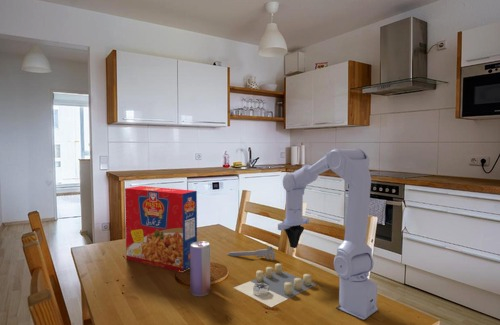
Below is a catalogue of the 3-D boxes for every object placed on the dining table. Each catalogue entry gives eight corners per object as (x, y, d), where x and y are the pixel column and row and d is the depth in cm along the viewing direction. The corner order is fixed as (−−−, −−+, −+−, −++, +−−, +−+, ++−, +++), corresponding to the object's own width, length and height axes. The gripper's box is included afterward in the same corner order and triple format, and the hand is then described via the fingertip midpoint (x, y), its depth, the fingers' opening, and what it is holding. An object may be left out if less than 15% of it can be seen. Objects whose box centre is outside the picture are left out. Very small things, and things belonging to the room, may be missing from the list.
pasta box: (126, 259, 125) (125, 188, 124) (141, 253, 133) (140, 185, 131) (183, 272, 113) (182, 193, 111) (197, 265, 120) (196, 190, 118)
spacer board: (316, 287, 101) (317, 275, 101) (271, 310, 87) (271, 296, 87) (279, 272, 113) (279, 261, 113) (233, 290, 99) (233, 278, 99)
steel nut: (272, 293, 95) (272, 286, 95) (262, 298, 92) (262, 291, 92) (260, 287, 99) (260, 281, 99) (250, 292, 96) (250, 285, 96)
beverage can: (191, 298, 94) (191, 247, 93) (189, 289, 100) (189, 241, 99) (211, 295, 96) (211, 246, 95) (208, 287, 102) (208, 240, 101)
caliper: (274, 262, 123) (274, 246, 123) (273, 263, 122) (273, 247, 122) (227, 255, 132) (227, 239, 131) (226, 255, 131) (226, 240, 130)
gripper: (298, 204, 119) (297, 240, 120) (271, 209, 109) (270, 248, 110) (314, 206, 114) (313, 244, 114) (287, 212, 104) (286, 254, 105)
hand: (293, 247), depth 112 cm, fingers closed
